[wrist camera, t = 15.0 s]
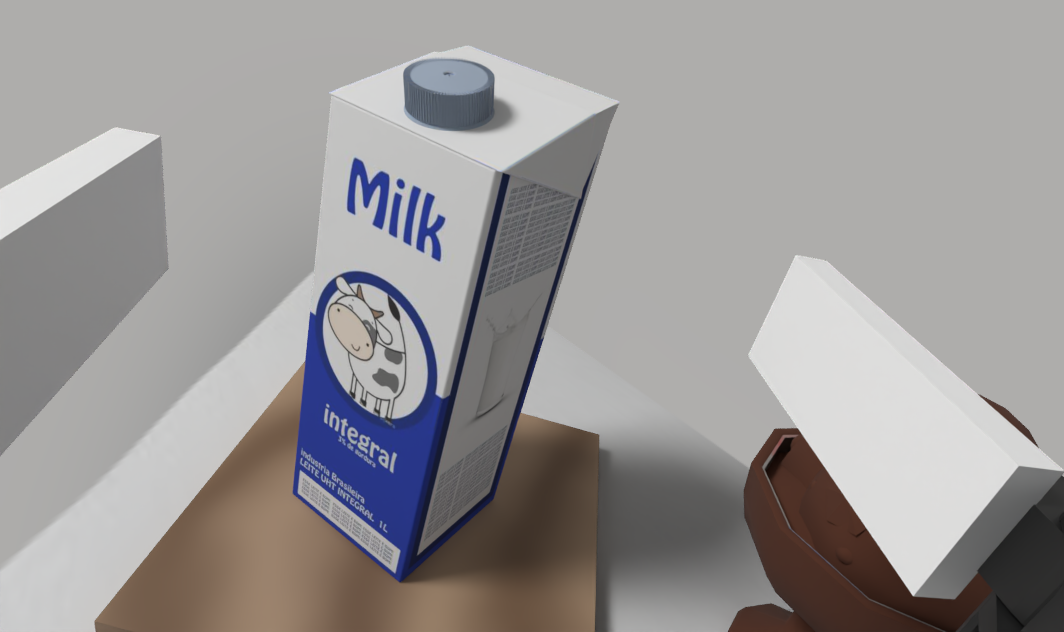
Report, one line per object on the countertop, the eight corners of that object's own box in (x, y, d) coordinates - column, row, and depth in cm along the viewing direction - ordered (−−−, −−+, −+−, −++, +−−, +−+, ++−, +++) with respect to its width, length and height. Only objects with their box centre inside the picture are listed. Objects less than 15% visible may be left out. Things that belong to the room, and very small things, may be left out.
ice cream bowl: (680, 531, 35) (804, 296, 28) (886, 620, 33) (1074, 393, 26) (654, 713, 25) (829, 430, 18) (936, 850, 24) (1251, 595, 17)
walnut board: (593, 449, 39) (599, 434, 38) (582, 770, 23) (592, 753, 22) (308, 370, 38) (310, 354, 38) (97, 642, 23) (94, 621, 22)
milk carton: (497, 501, 32) (624, 96, 22) (403, 586, 26) (519, 99, 17) (393, 428, 34) (467, 38, 25) (288, 491, 29) (333, 25, 19)
